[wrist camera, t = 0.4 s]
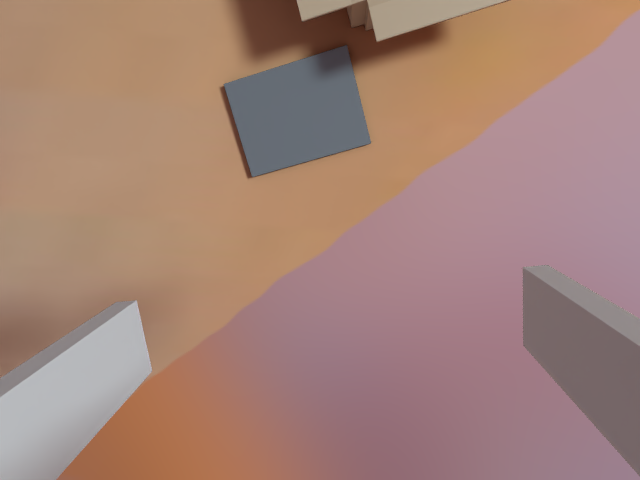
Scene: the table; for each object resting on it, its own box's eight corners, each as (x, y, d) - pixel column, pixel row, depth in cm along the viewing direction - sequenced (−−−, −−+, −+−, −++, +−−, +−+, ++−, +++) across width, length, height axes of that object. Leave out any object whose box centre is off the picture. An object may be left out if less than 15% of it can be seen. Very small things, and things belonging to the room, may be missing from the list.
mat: (225, 85, 39) (223, 84, 38) (346, 46, 37) (346, 44, 37) (253, 176, 40) (252, 177, 40) (370, 143, 39) (371, 143, 38)
